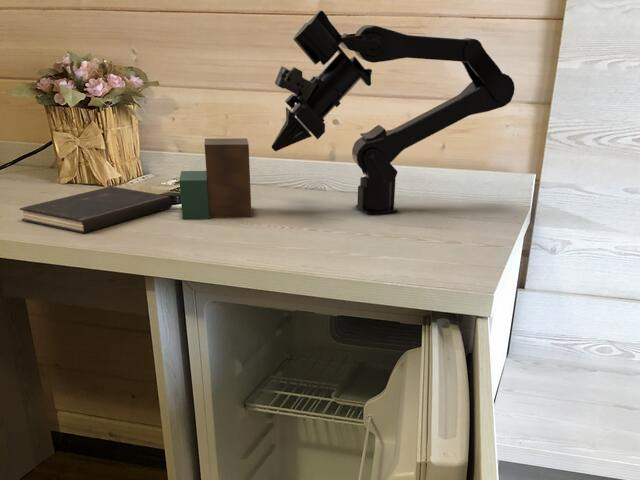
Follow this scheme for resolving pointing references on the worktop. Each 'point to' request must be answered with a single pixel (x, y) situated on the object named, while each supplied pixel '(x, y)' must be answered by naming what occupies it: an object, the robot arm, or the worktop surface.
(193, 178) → the green block
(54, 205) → the hardcover book
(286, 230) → the worktop surface
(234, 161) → the walnut block
